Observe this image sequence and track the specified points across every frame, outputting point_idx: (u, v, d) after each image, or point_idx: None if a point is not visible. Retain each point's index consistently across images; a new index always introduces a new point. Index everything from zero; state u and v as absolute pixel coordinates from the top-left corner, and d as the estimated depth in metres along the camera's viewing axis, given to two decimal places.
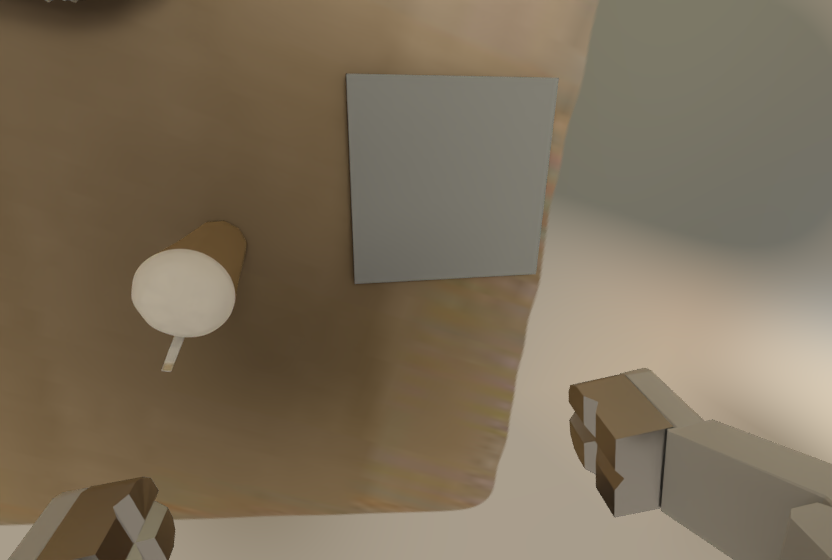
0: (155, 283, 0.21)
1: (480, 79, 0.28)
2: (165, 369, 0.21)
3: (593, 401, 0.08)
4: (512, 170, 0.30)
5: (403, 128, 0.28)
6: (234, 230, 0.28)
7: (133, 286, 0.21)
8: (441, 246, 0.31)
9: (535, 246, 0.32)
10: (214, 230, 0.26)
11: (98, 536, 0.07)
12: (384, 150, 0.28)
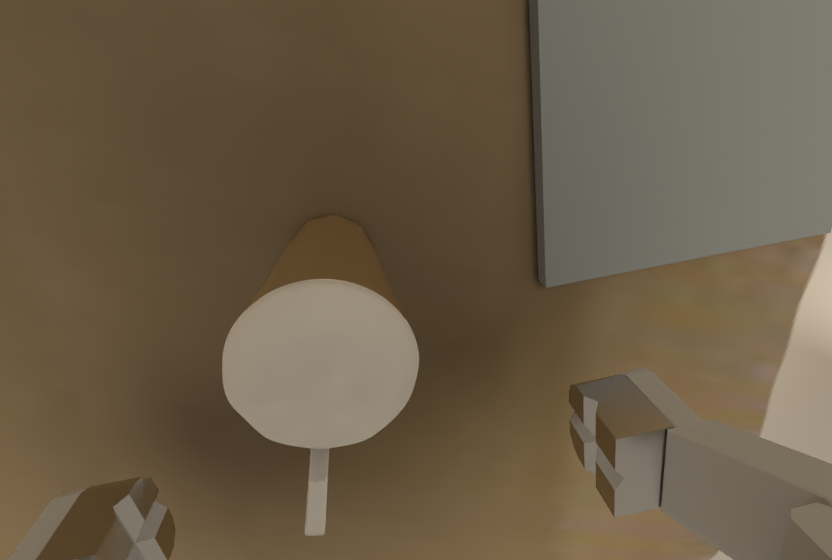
0: (272, 362, 0.10)
1: None
2: (313, 531, 0.10)
3: (593, 401, 0.08)
4: (815, 54, 0.17)
5: (634, 1, 0.15)
6: (356, 227, 0.17)
7: (225, 370, 0.10)
8: (684, 208, 0.19)
9: None
10: (334, 232, 0.15)
11: (98, 536, 0.07)
12: (599, 49, 0.16)
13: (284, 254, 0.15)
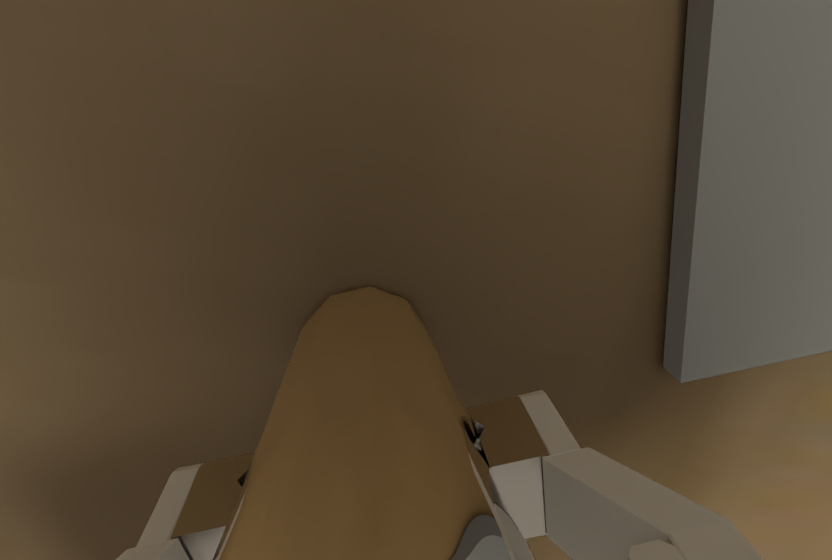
0: None
1: None
2: None
3: (481, 426, 0.08)
4: None
5: None
6: (404, 311, 0.11)
7: None
8: None
9: None
10: (377, 339, 0.09)
11: (230, 507, 0.07)
12: (808, 20, 0.10)
13: (292, 370, 0.09)
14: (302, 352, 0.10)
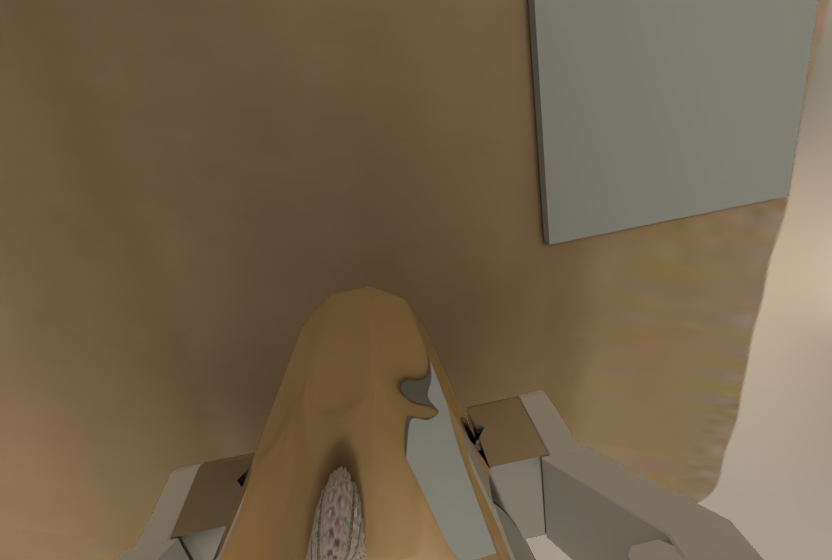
0: None
1: None
2: None
3: (481, 425, 0.08)
4: (761, 49, 0.21)
5: (610, 14, 0.20)
6: (403, 310, 0.11)
7: None
8: (661, 177, 0.23)
9: (789, 156, 0.23)
10: (376, 338, 0.09)
11: (230, 507, 0.07)
12: (584, 52, 0.20)
13: (292, 369, 0.09)
14: (302, 351, 0.10)
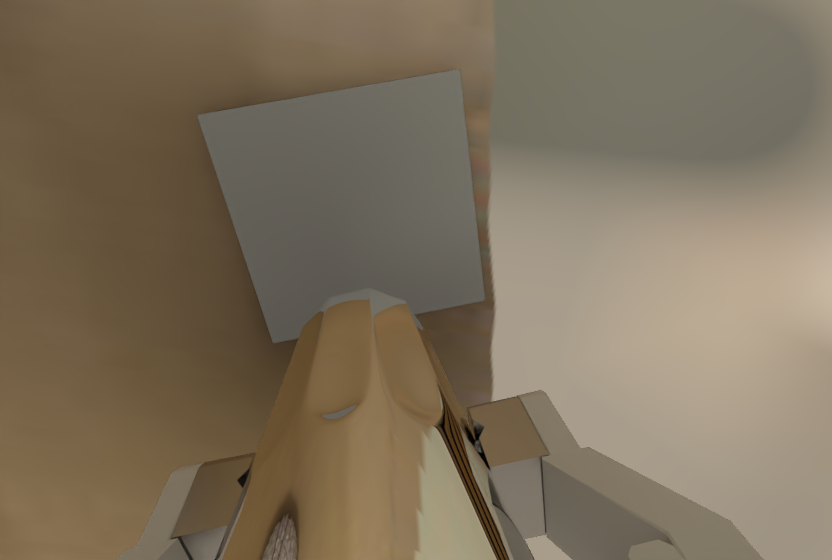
0: None
1: (361, 90, 0.23)
2: None
3: (481, 425, 0.08)
4: (427, 188, 0.25)
5: (282, 164, 0.24)
6: (403, 312, 0.11)
7: None
8: (362, 288, 0.27)
9: (477, 270, 0.27)
10: (376, 340, 0.09)
11: (230, 507, 0.07)
12: (266, 193, 0.24)
13: (292, 371, 0.09)
14: (302, 353, 0.10)
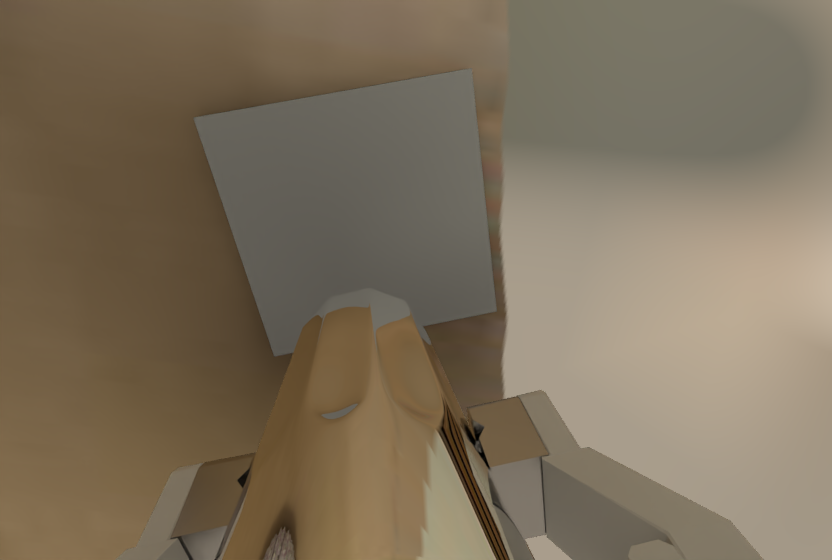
0: None
1: (366, 91, 0.21)
2: None
3: (481, 425, 0.08)
4: (437, 194, 0.24)
5: (283, 169, 0.22)
6: (404, 312, 0.11)
7: None
8: None
9: (488, 279, 0.26)
10: (376, 340, 0.09)
11: (230, 507, 0.07)
12: (266, 200, 0.23)
13: (292, 371, 0.09)
14: (302, 353, 0.10)
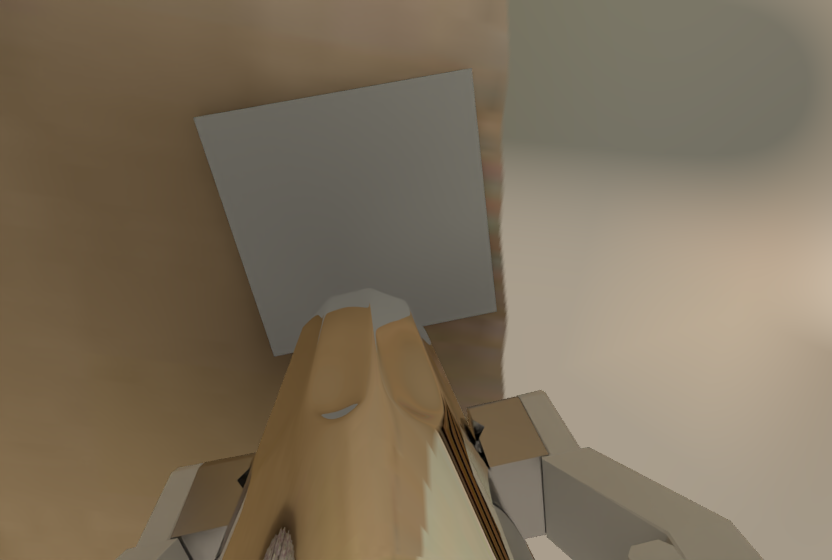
0: None
1: (366, 91, 0.21)
2: None
3: (481, 425, 0.08)
4: (437, 194, 0.24)
5: (283, 169, 0.22)
6: (404, 312, 0.11)
7: None
8: None
9: (488, 279, 0.26)
10: (376, 340, 0.09)
11: (230, 507, 0.07)
12: (266, 200, 0.23)
13: (292, 371, 0.09)
14: (302, 353, 0.10)
